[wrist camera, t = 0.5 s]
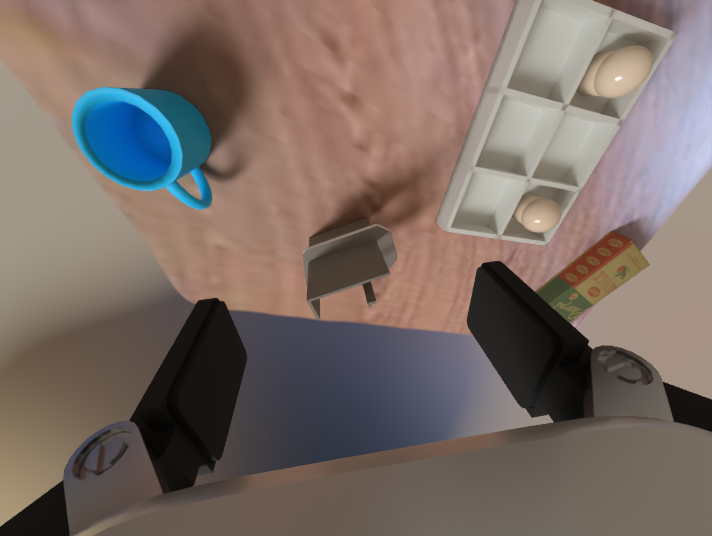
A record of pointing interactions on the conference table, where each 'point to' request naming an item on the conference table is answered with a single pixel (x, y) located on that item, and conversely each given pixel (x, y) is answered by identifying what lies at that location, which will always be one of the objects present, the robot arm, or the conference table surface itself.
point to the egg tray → (542, 115)
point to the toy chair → (347, 260)
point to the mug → (144, 139)
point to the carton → (593, 275)
